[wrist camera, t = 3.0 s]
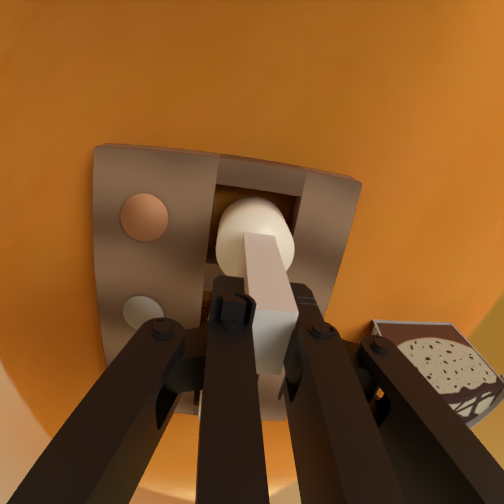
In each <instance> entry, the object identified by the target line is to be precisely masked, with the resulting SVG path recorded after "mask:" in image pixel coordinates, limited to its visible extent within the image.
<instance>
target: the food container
mask: <svg viewBox="0 0 504 504" xmlns="http://www.w3.org/2000/svg"><path fill="white" fill-rule="evenodd" d="M369 335H379V336H383V337H385V338H387V339H389V340H390V341H391V342H393V343H394V344H395V345H396V346H397V347H398V348H399V350H400V351H401V352H402V353H403V354H404V355H405V356H406V357H407V358H408V359H409V360H410V362H411V363H412V364H413V365H414V366H415V367H416V368H417V369H418V370H419V372H420V373H421V374H422V375H423V376H424V377H425V378H426V379H427V380H428V382H429V383H430V384H431V385H432V386H433V387H434V388H435V389H436V391H437V392H438V393H439V394H440V395H441V396H442V397H443V399H444V400H445V401H446V402H447V403H448V404H449V405H450V407H451V408H452V409H453V410H454V411H455V412H456V414H457V415H458V416H459V417H460V418H461V419H462V421H463V422H464V423H465V424H466V425H467V426H468V428H469V429H470V428H472V427H473V426H475V425H476V424H477V423H479V422H480V421H482V420H483V419H484V418H485V417H486V416H488V415H489V414H490V413H491V412H492V411H493V410H494V409H495V408H496V407H497V406H498V405H499V404H500V403H501V402H502V401H503V400H504V376H503V374H501V376H499V375H498V374H497V373H496V371H495V370H494V369H493V368H492V367H491V366H490V364H488V362H487V361H486V360H485V359H484V358H483V357H482V355H481V354H480V353H479V352H478V351H477V350H476V349H475V348H474V347H473V346H472V345H471V343H470V342H469V341H468V340H467V339H466V338H465V337H464V336H463V335H462V334H461V333H460V332H459V330H458V329H457V328H456V327H455V326H454V325H453V324H452V323H451V322H415V321H391V320H372V323H371V326H370V329H369Z"/></svg>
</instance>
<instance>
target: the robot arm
mask: <svg viewBox="0 0 504 504" xmlns="http://www.w3.org/2000/svg"><path fill="white" fill-rule="evenodd" d="M283 365H284V369H285V376H284V379H283V382H282V385H281V388H280V391H279V394H278V400H281V398H282V395H283V393H284V399H285V405H286V411H287V417H288V423H289V429H290V436H291V442H292V448H293V454H294V460H295V466H296V472H297V479H298V485H299V491H300V497H301V503H302V504H504V470H503V469H502V468H501V467H500V465H499V464H498V463H497V461H496V460H495V459H494V458H493V457H492V455H491V454H490V453H489V452H488V451H487V449H486V448H485V447H484V445H483V444H482V443H481V442H480V441H479V439H477V437H476V436H475V435H474V434H473V432H472V431H471V430H470V429H469V428H468V426H467V425H466V424H465V423H464V422H463V421H462V419H461V418H460V417H459V416H458V415H457V414H456V412H455V411H454V410H453V409H452V408H451V407H450V405H449V404H448V403H447V402H446V401H445V400H444V399H443V397H442V396H441V395H440V394H439V393H438V392H437V391H436V389H435V388H434V387H433V386H432V385H431V384H430V383H429V382H428V380H427V379H426V378H425V377H424V376H423V375H422V374H421V373H420V372H419V370H418V369H417V368H416V367H415V366H414V365H413V364H412V363H411V362H410V360H409V359H408V358H407V357H406V356H405V355H404V354H403V353H402V352H401V351H400V350H399V348H398V347H397V346H396V345H395V344H394V343H393V342H391V341H390V340H389V339H387V338H385V337H383V336H379V335H368V336H365V337H364V338H363V339H362V341H361V344H357V343H353V342H349V341H346V340H343V339H341V337H340V335H339V333H338V331H337V330H336V328H335V327H333V326H332V325H330V324H329V323H326V322H324V319H323V317H322V314H321V312H320V310H319V307H318V305H317V302H316V300H315V297H314V295H313V293H312V290H311V289H309V288H308V287H307V286H306V285H305V284H302V283H293V282H289V280H288V277H287V274H286V270H285V267H284V264H283V261H282V258H281V255H280V252H279V249H278V245H277V242H276V239H275V236H274V235H266V234H259V233H252V232H244V233H243V239H242V245H241V251H240V258H239V264H238V270H237V276H236V277H233V276H225V275H218V276H217V277H216V278H215V279H214V280H213V287H212V295H211V304H210V313H209V319H208V321H207V322H206V323H205V324H204V325H202V326H200V327H197V328H193V329H184V327H183V326H182V325H181V324H180V323H179V322H177V321H175V320H173V319H169V318H164V317H161V318H153V319H150V320H147V321H146V322H145V323H143V324H142V325H141V327H140V328H139V329H138V330H137V331H136V333H135V334H134V335H133V336H132V338H131V339H130V340H129V341H128V342H127V344H126V345H125V346H124V347H123V349H122V350H121V351H120V352H119V354H118V355H117V356H116V357H115V359H114V360H113V361H112V362H111V364H110V365H109V366H108V367H107V369H106V370H105V371H104V373H103V374H102V375H101V376H100V378H99V379H98V380H97V381H96V383H95V384H94V385H93V387H92V388H91V389H90V390H89V392H88V393H87V394H86V396H85V397H84V398H83V399H82V401H81V402H80V403H79V405H78V406H77V407H76V409H75V410H74V411H73V412H72V414H71V415H70V416H69V418H68V419H67V420H66V422H65V423H64V424H63V426H62V427H61V428H60V430H59V431H58V432H57V434H56V435H55V436H54V438H53V439H52V440H51V442H50V443H49V445H48V446H47V447H46V449H45V450H44V451H43V453H42V454H41V455H40V457H39V458H38V460H37V461H36V462H35V464H34V465H33V467H32V468H31V469H30V471H29V472H28V474H27V475H26V476H25V478H24V479H23V481H22V482H21V484H20V485H19V486H18V488H17V489H16V491H15V492H14V494H13V495H12V497H11V498H10V499H9V501H8V502H7V504H129V501H130V500H131V498H132V496H133V494H134V492H135V490H136V488H137V486H138V484H139V482H140V480H141V478H142V476H143V474H144V472H145V469H146V467H147V465H148V463H149V461H150V459H151V457H152V455H153V453H154V451H155V449H156V447H157V445H158V443H159V441H160V439H161V437H162V435H163V433H164V431H165V429H166V427H167V425H168V423H169V421H170V419H171V417H172V415H173V413H174V411H175V409H176V407H177V405H178V403H179V401H180V398H181V396H182V393H183V392H191V391H198V390H202V399H201V413H200V427H199V443H198V459H197V478H196V500H195V504H270V503H269V493H268V483H267V474H266V464H265V454H264V444H263V434H262V424H261V414H260V404H259V393H258V383H257V374H266V375H280V374H281V371H282V368H283ZM379 388H381V390H382V391H383V392H384V395H383V397H382V398H379V397H378V396H377V394H376V393H377V391H378V389H379Z"/></svg>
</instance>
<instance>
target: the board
mask: <svg viewBox="0 0 504 504" xmlns="http://www.w3.org/2000/svg"><path fill="white" fill-rule="evenodd" d="M217 184H220V185H227V186H235V187H242V188H249V189H256V190H262V191H269V192H275V193H282V194H288V195H294V200H293V205H292V210H291V215H290V219H289V224H288V229H289V231H290V233H291V235H292V238H293V241H294V257H293V260H292V263H291V265H290V267H289V268H288V270H287V271H286V274H287V277H288V280H289V282H293V283H302V284H305V285H306V286H307V287H308V288H309V289H311V290H312V293H313V295H314V297H315V300H316V302H317V305H318V307H319V310H320V312H321V314H322V317H323V318H324V315H325V312H326V309H327V306H328V302H329V299H330V296H331V293H332V290H333V287H334V284H335V280H336V277H337V274H338V271H339V267H340V264H341V261H342V257H343V254H344V250H345V247H346V243H347V240H348V236H349V232H350V229H351V225H352V221H353V218H354V214H355V210H356V206H357V202H358V198H359V194H360V190H361V186H362V183H361V182H359V181H358V180H356V179H354V178H352V177H350V176H346V175H341V174H336V173H331V172H327V171H322V170H317V169H311V168H306V167H301V166H295V165H290V164H284V163H278V162H272V161H266V160H260V159H254V158H247V157H240V156H233V155H226V154H218V153H210V152H202V151H193V150H184V149H174V148H164V147H152V146H139V145H125V144H103V145H100V146H96V147H94V163H93V196H92V217H93V251H94V268H95V281H96V292H97V302H98V311H99V320H100V327H101V335H102V342H103V348H104V354H105V360H106V366H107V367H108V366H109V365H110V364H111V362H112V361H113V360H114V359H115V357H116V356H117V355H118V354H119V352H120V351H121V350H122V349H123V347H124V346H125V345H126V344H127V342H128V341H129V340H130V339H131V338H132V336H133V335H134V334H135V333H136V331H137V330H138V329H139V328H140V327H141V325H142V324H143V323H145V322H146V321H147V320H150V319H153V318H161V317H164V318H169V319H173V320H175V321H177V322H179V323H180V324H181V325H182V326H183V327H184V329H193V328H197V327H200V324H201V313H202V303H203V293H204V291H209V292H212V287H213V280H214V279H215V278H216V277H217V276H218V275H225V276H227V275H226V274H225V273H224V272H223V271H222V269H221V268H220V266H219V264H218V261H217V258H216V251H211V250H208V248H209V239H210V231H211V223H212V215H213V207H214V200H215V192H216V185H217ZM284 376H285V369H284V365H283V368H282V371H281V374H280V375H266V374H257V383H258V393H259V404H260V414H261V420H269V421H285V419H286V416H287V411H286V405H285V399H284V393H283V395H282V398H281V400H278V394H279V391H280V388H281V385H282V382H283V379H284ZM199 401H200V390H198V391H191V392H183V393H182V396H181V398H180V401H179V403H178V405H177V407H176V409H175V411H174V412H176V413H183V414H191V415H198V413H199Z"/></svg>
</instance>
